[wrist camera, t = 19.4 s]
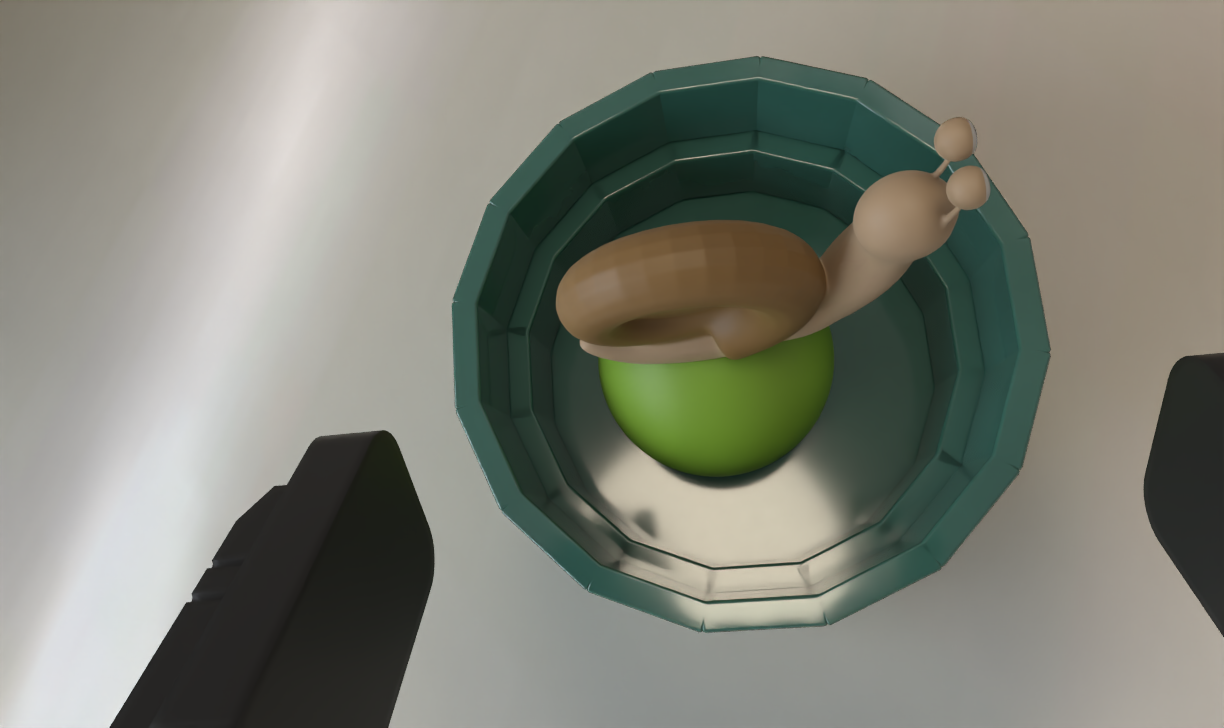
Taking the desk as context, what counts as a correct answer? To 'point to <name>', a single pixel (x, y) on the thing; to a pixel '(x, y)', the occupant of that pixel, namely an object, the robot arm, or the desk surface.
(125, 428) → the desk surface
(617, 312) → the snail figurine
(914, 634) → the desk surface
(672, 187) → the bowl
